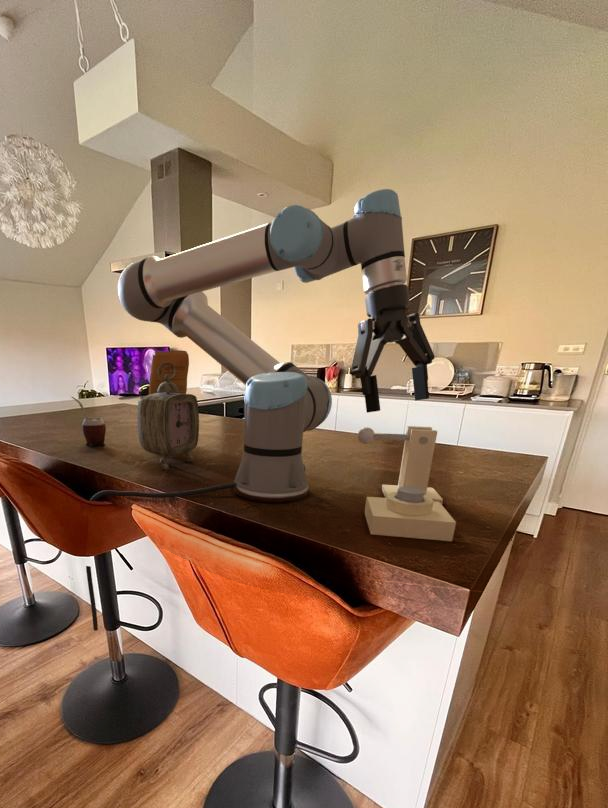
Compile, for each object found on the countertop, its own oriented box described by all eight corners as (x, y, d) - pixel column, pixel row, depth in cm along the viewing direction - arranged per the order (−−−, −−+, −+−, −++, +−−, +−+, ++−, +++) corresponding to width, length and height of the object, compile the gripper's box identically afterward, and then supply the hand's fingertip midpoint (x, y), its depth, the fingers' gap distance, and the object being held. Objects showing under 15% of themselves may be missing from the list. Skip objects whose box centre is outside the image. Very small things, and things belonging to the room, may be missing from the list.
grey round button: (398, 503, 67) (400, 492, 67) (394, 495, 71) (395, 485, 70) (425, 505, 66) (427, 494, 66) (419, 497, 70) (421, 487, 70)
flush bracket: (387, 501, 82) (397, 430, 78) (381, 489, 90) (391, 424, 85) (442, 505, 80) (456, 433, 76) (431, 493, 88) (444, 426, 83)
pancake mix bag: (197, 443, 135) (196, 350, 126) (158, 454, 120) (153, 349, 110) (180, 441, 139) (178, 350, 129) (140, 451, 124) (134, 349, 114)
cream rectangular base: (370, 534, 67) (374, 504, 65) (364, 513, 76) (367, 486, 74) (452, 541, 64) (458, 511, 63) (435, 518, 74) (441, 491, 72)
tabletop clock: (166, 473, 101) (162, 362, 92) (137, 468, 105) (130, 362, 96) (199, 461, 113) (198, 362, 104) (172, 457, 117) (168, 361, 108)
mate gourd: (111, 443, 134) (106, 395, 129) (98, 448, 127) (93, 397, 122) (89, 442, 136) (85, 394, 131) (76, 447, 129) (70, 396, 123)
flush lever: (357, 444, 82) (359, 428, 81) (356, 441, 85) (358, 425, 84) (428, 448, 80) (431, 431, 79) (424, 445, 83) (427, 428, 82)
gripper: (350, 286, 70) (366, 415, 74) (448, 278, 80) (457, 392, 84) (320, 301, 76) (337, 418, 81) (414, 292, 86) (424, 397, 91)
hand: (398, 405), depth 83 cm, fingers open, 13 cm apart
